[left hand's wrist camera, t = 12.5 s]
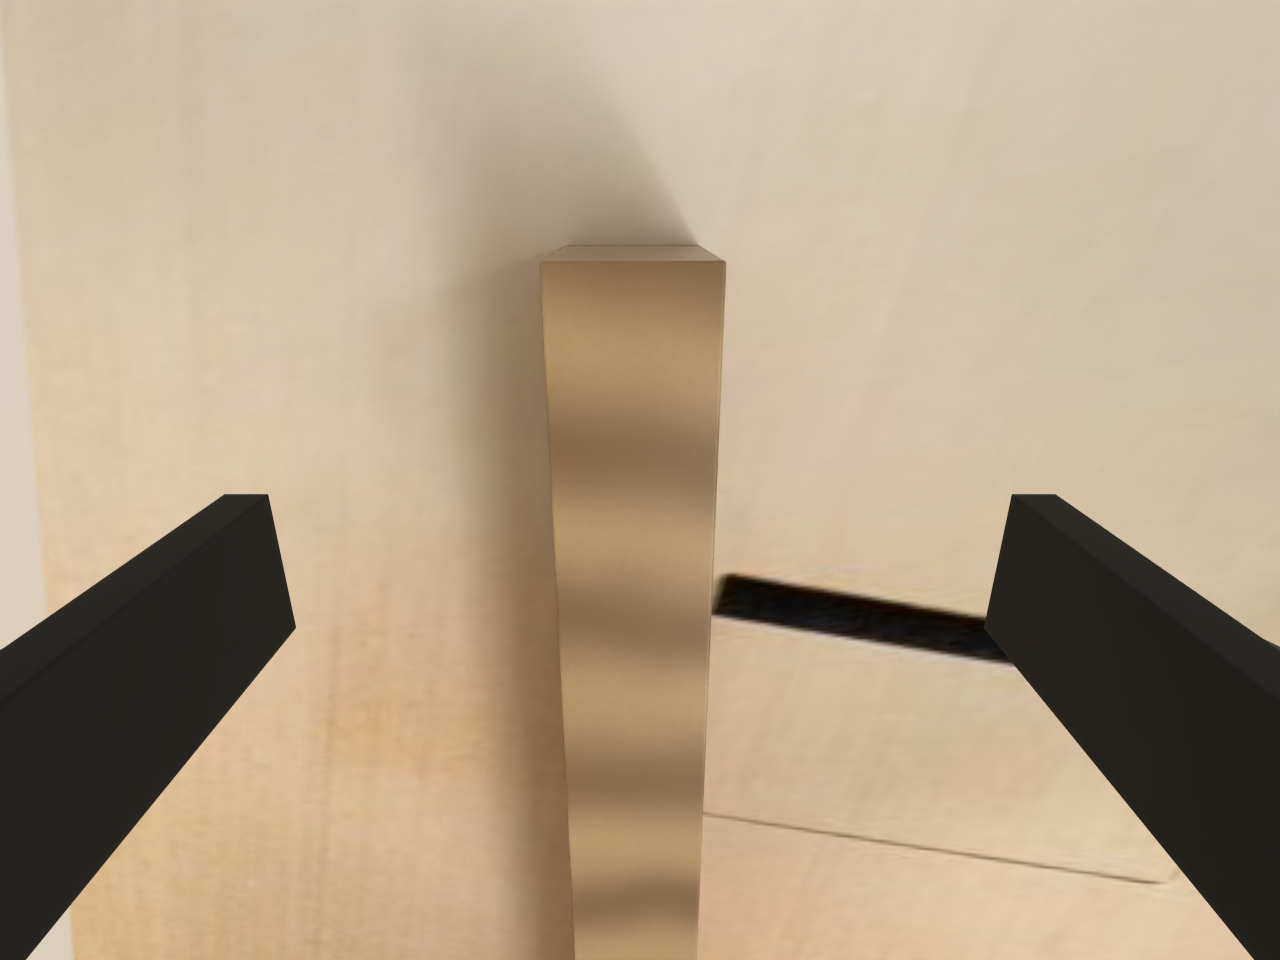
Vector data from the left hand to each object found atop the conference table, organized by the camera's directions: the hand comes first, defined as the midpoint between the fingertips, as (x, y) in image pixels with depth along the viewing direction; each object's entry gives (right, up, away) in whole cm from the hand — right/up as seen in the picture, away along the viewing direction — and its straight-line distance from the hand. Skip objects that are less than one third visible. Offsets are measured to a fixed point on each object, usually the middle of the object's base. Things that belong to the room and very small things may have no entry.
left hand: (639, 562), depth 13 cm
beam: (0, -20, +28) cm, 35 cm away
